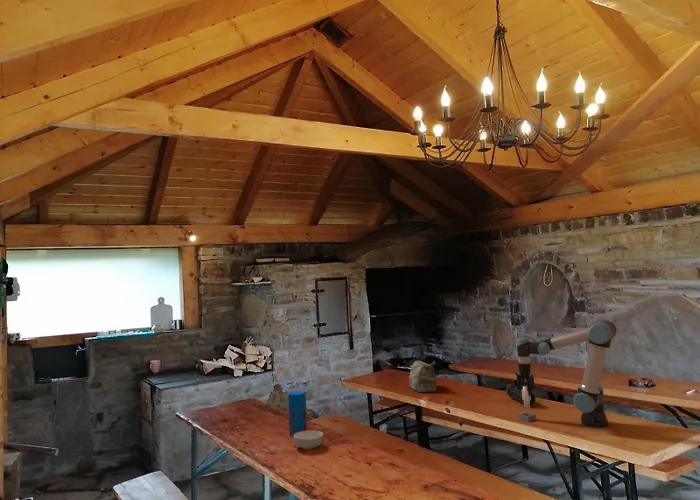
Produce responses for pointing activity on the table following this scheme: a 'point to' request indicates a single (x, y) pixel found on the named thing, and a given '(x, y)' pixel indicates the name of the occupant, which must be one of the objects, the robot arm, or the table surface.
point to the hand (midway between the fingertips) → (526, 399)
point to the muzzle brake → (518, 394)
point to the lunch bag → (422, 377)
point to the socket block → (527, 416)
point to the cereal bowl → (308, 439)
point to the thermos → (297, 412)
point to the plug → (525, 397)
